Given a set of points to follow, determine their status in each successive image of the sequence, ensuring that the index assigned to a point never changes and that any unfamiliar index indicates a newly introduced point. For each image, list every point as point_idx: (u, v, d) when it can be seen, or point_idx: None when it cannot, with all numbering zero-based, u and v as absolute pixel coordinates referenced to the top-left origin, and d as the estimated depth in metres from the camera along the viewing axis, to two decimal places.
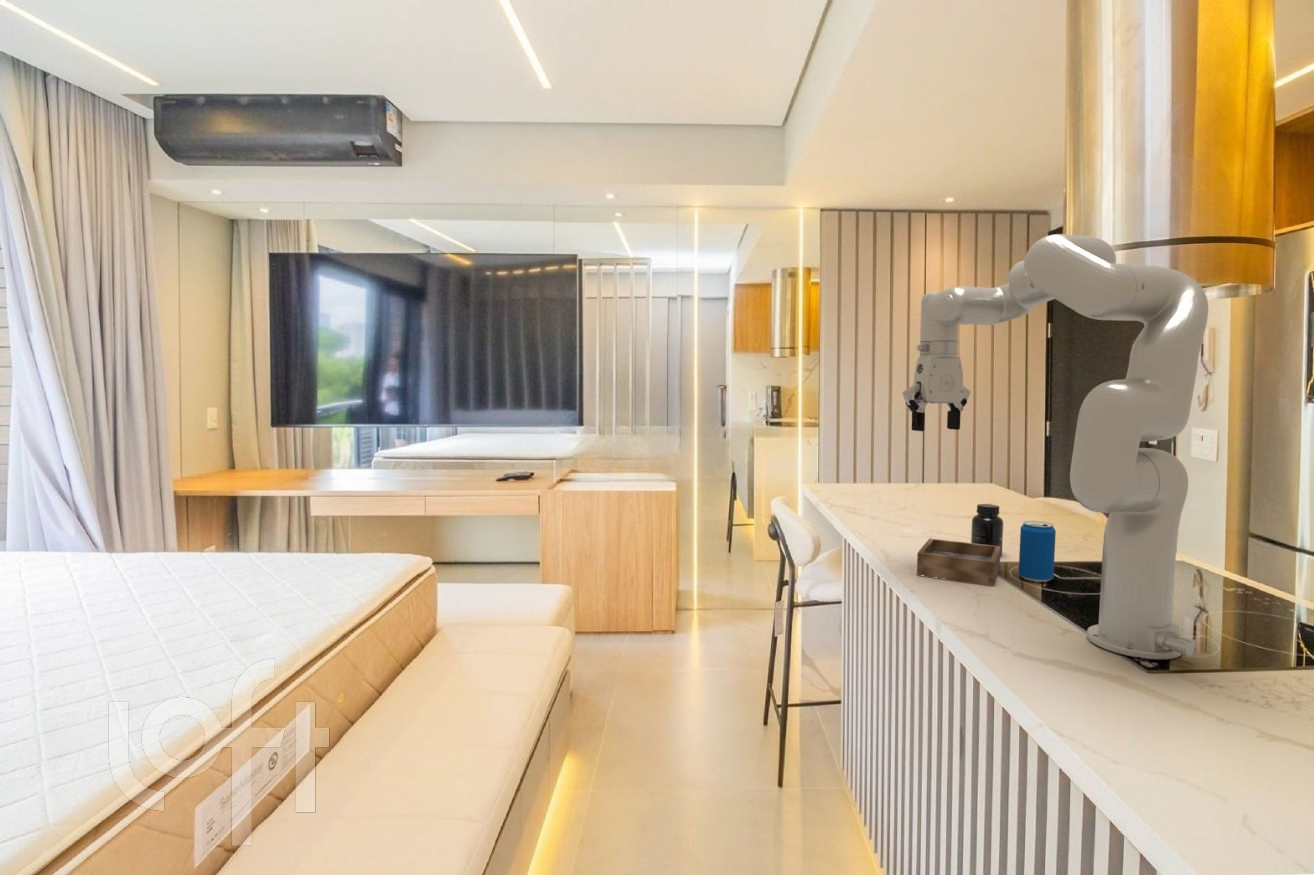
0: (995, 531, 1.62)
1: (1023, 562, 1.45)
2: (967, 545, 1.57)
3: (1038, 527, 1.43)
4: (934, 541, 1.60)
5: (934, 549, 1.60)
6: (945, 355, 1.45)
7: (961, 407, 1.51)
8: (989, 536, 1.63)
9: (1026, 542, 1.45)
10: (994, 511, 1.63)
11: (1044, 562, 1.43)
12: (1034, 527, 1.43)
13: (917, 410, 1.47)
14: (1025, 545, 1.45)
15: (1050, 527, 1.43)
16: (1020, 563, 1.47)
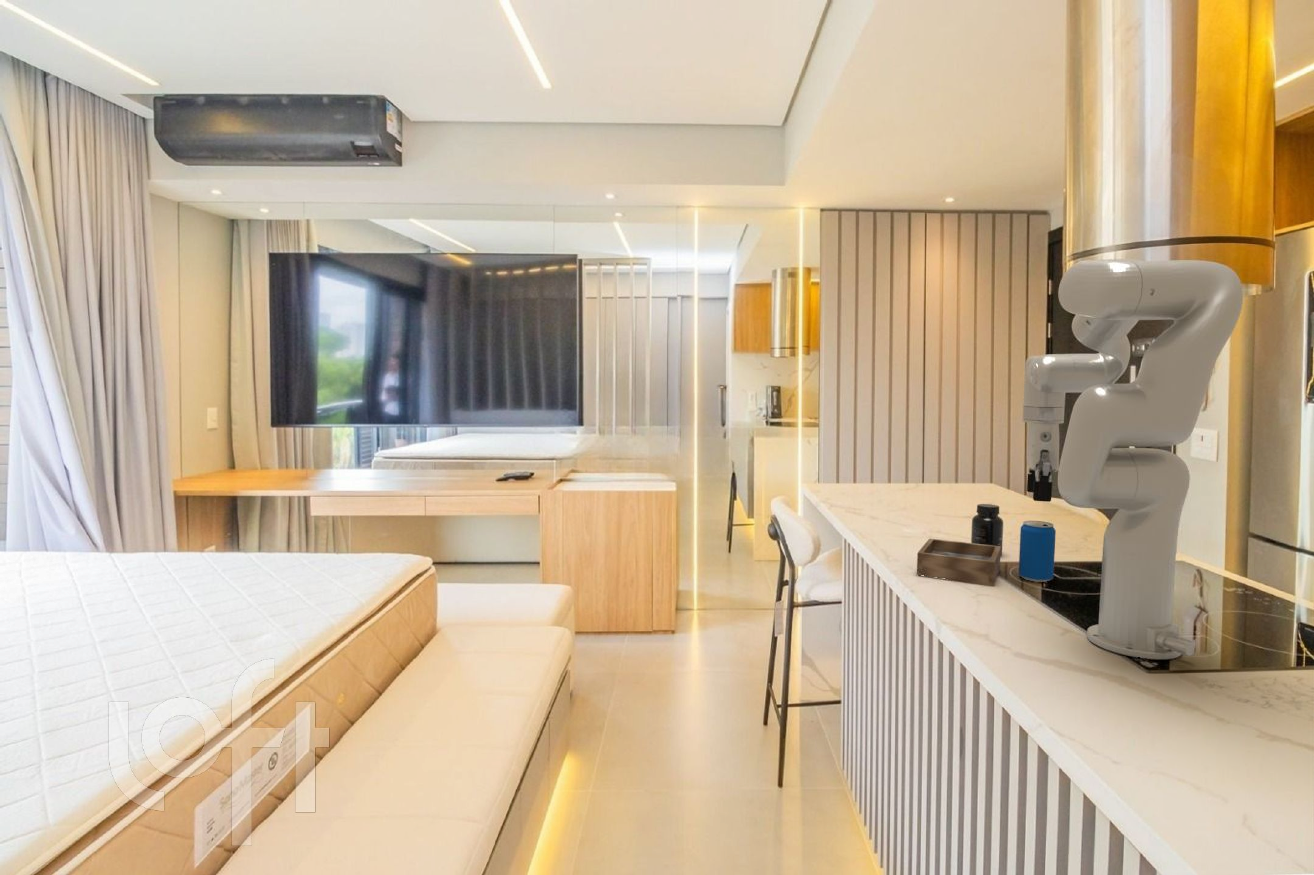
0: (995, 531, 1.62)
1: (1023, 562, 1.45)
2: (967, 545, 1.57)
3: (1038, 527, 1.43)
4: (934, 541, 1.60)
5: (934, 549, 1.60)
6: (1063, 421, 1.41)
7: None
8: (989, 536, 1.63)
9: (1026, 542, 1.45)
10: (994, 511, 1.63)
11: (1044, 562, 1.43)
12: (1034, 527, 1.43)
13: (1050, 480, 1.39)
14: (1025, 545, 1.45)
15: (1050, 527, 1.43)
16: (1020, 563, 1.47)
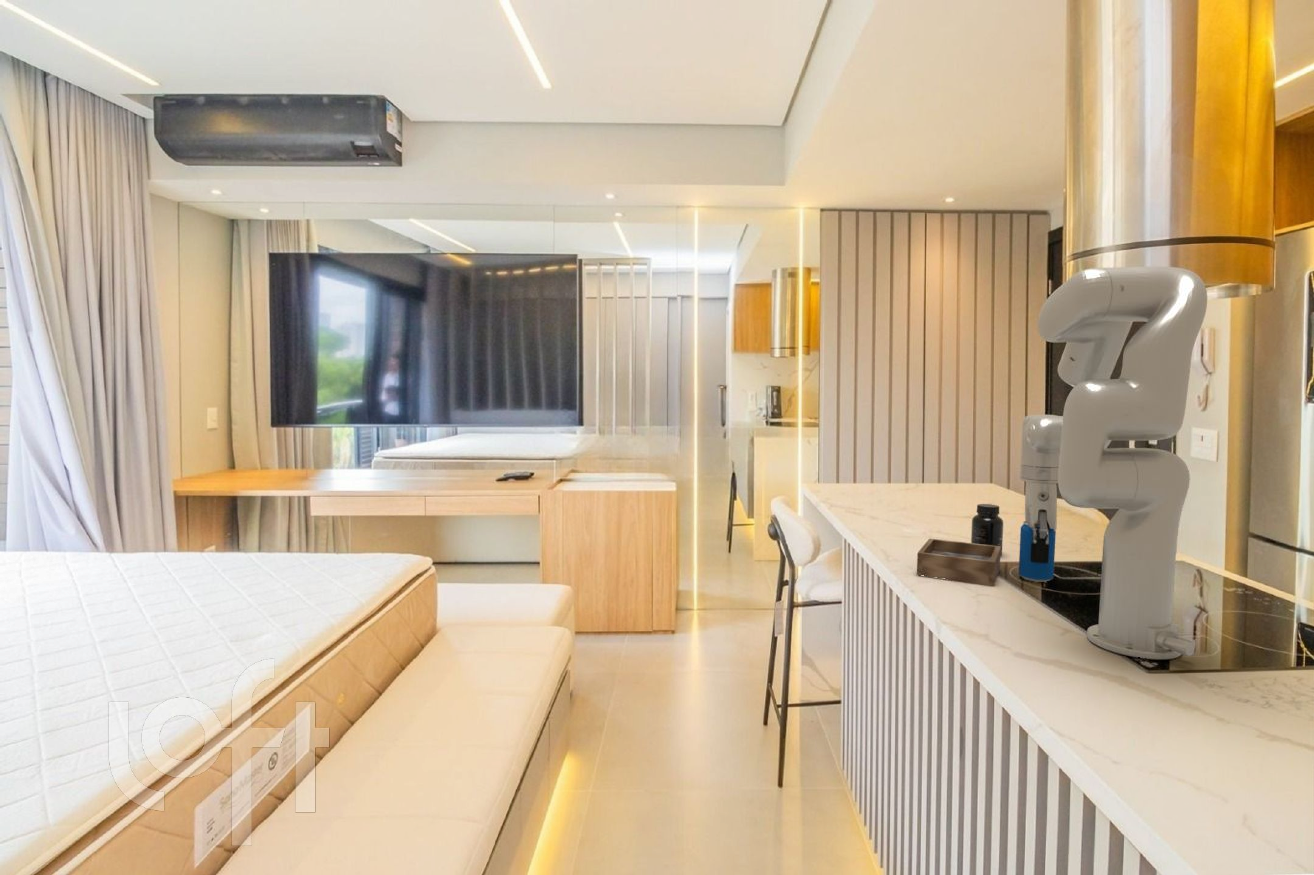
0: (995, 531, 1.62)
1: (1023, 562, 1.45)
2: (967, 545, 1.57)
3: (1038, 527, 1.43)
4: (934, 541, 1.60)
5: (934, 549, 1.60)
6: None
7: None
8: (988, 536, 1.63)
9: (1026, 542, 1.45)
10: (994, 511, 1.63)
11: None
12: None
13: (1047, 543, 1.41)
14: (1025, 545, 1.45)
15: None
16: (1020, 563, 1.47)
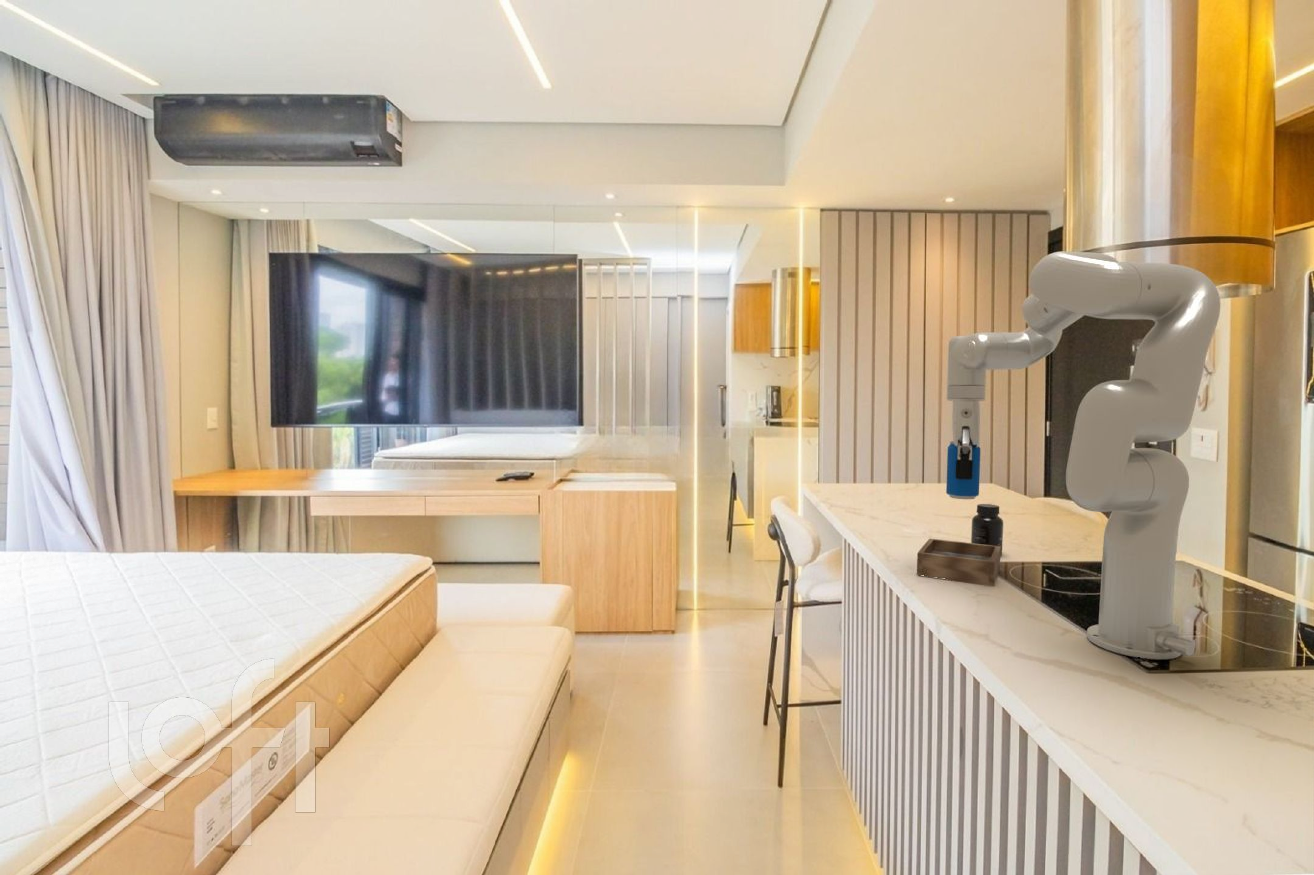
0: (995, 531, 1.62)
1: (949, 480, 1.49)
2: (967, 545, 1.57)
3: None
4: (934, 541, 1.60)
5: (934, 549, 1.60)
6: (984, 399, 1.46)
7: None
8: (989, 536, 1.63)
9: (952, 460, 1.48)
10: (994, 511, 1.63)
11: (968, 479, 1.47)
12: None
13: (970, 459, 1.45)
14: (951, 463, 1.49)
15: (974, 445, 1.47)
16: (947, 482, 1.50)
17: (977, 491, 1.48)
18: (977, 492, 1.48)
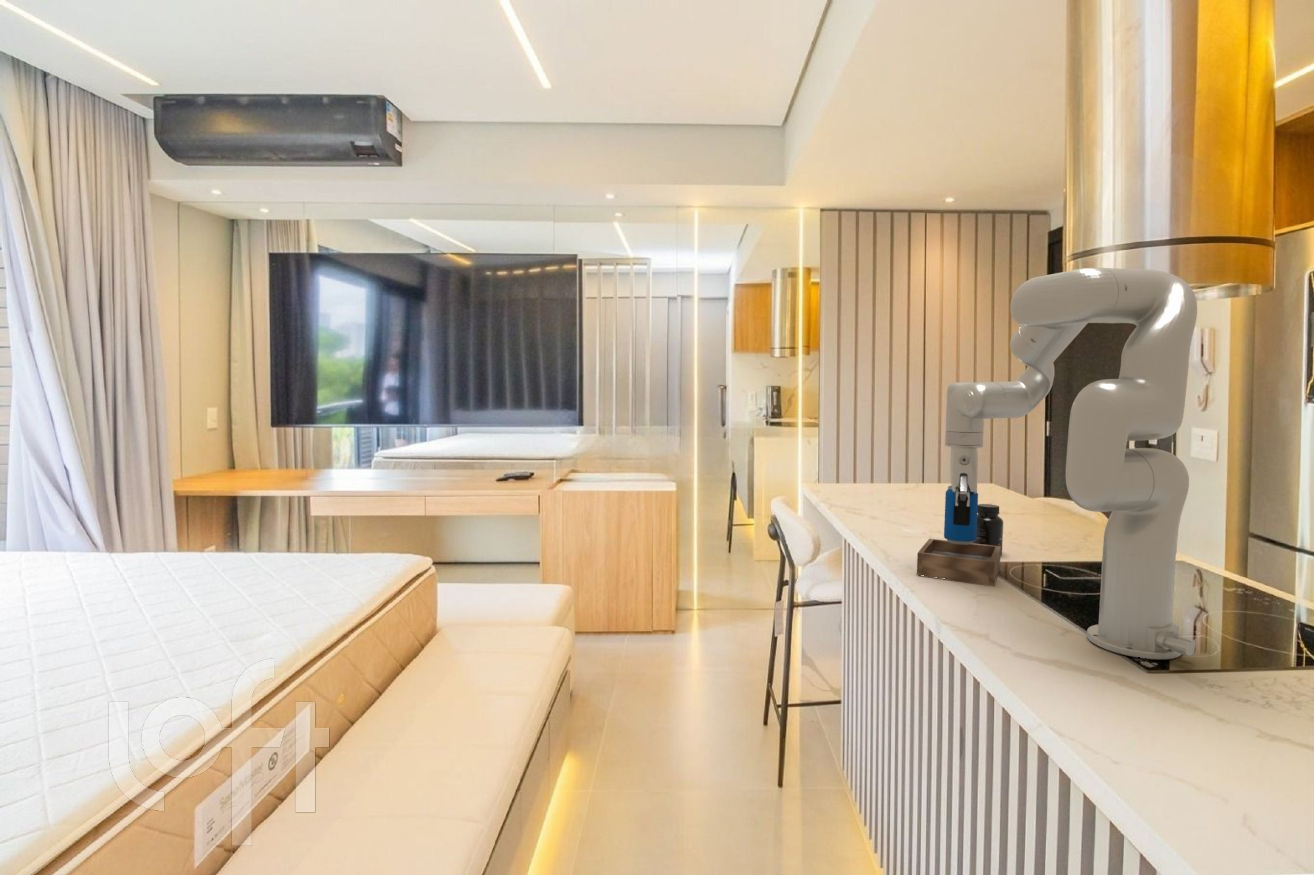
0: (995, 531, 1.62)
1: (947, 525, 1.50)
2: (967, 545, 1.57)
3: None
4: (934, 541, 1.60)
5: (934, 549, 1.60)
6: (982, 446, 1.47)
7: None
8: (989, 536, 1.63)
9: (950, 506, 1.49)
10: (994, 511, 1.63)
11: None
12: None
13: (968, 506, 1.46)
14: (949, 508, 1.50)
15: None
16: (945, 526, 1.51)
17: (974, 536, 1.49)
18: (974, 537, 1.49)
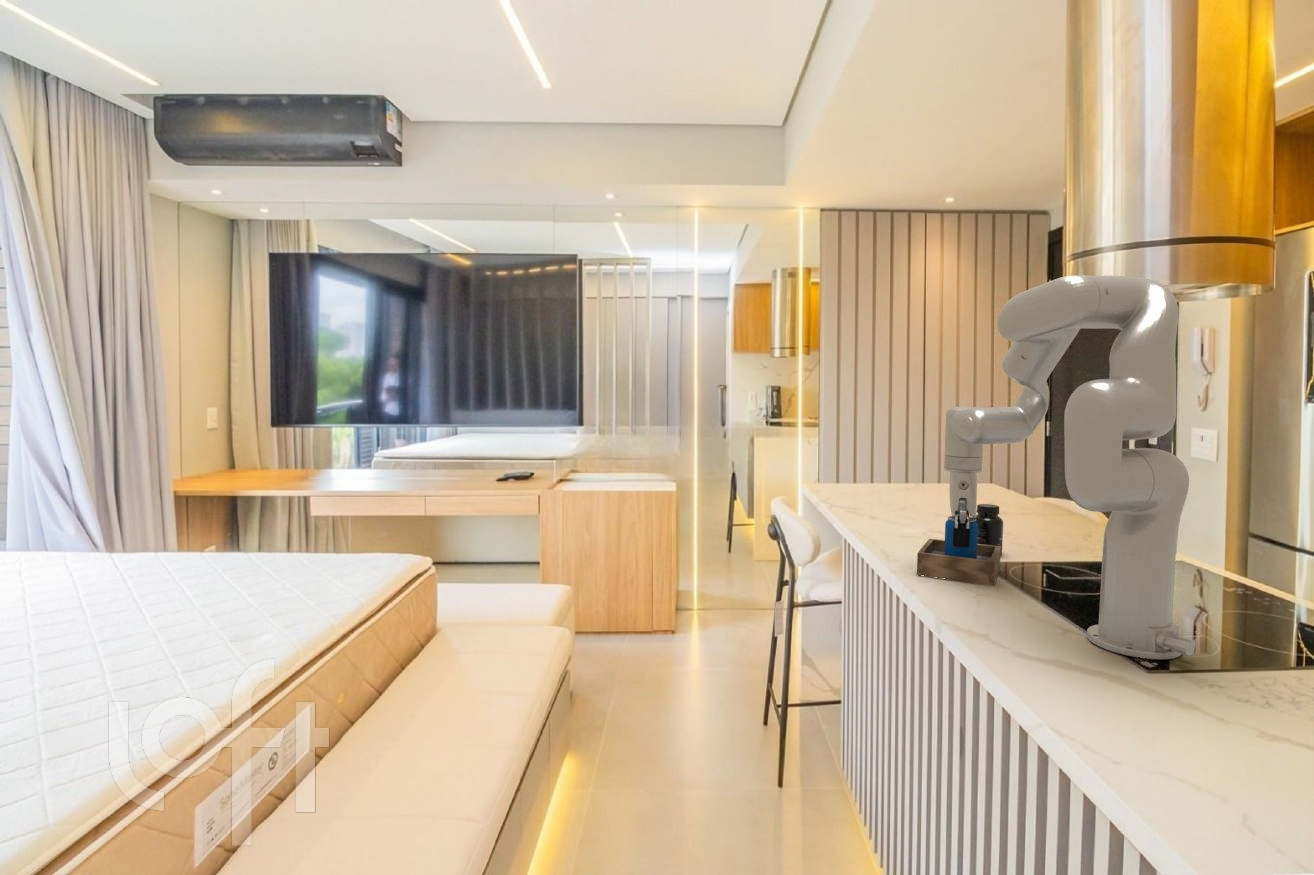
0: (995, 531, 1.62)
1: None
2: None
3: None
4: (934, 541, 1.60)
5: (934, 549, 1.60)
6: (981, 470, 1.47)
7: None
8: (989, 536, 1.63)
9: (949, 536, 1.50)
10: (994, 511, 1.63)
11: (966, 555, 1.48)
12: None
13: (967, 527, 1.45)
14: (949, 539, 1.50)
15: (972, 522, 1.48)
16: None
17: None
18: None
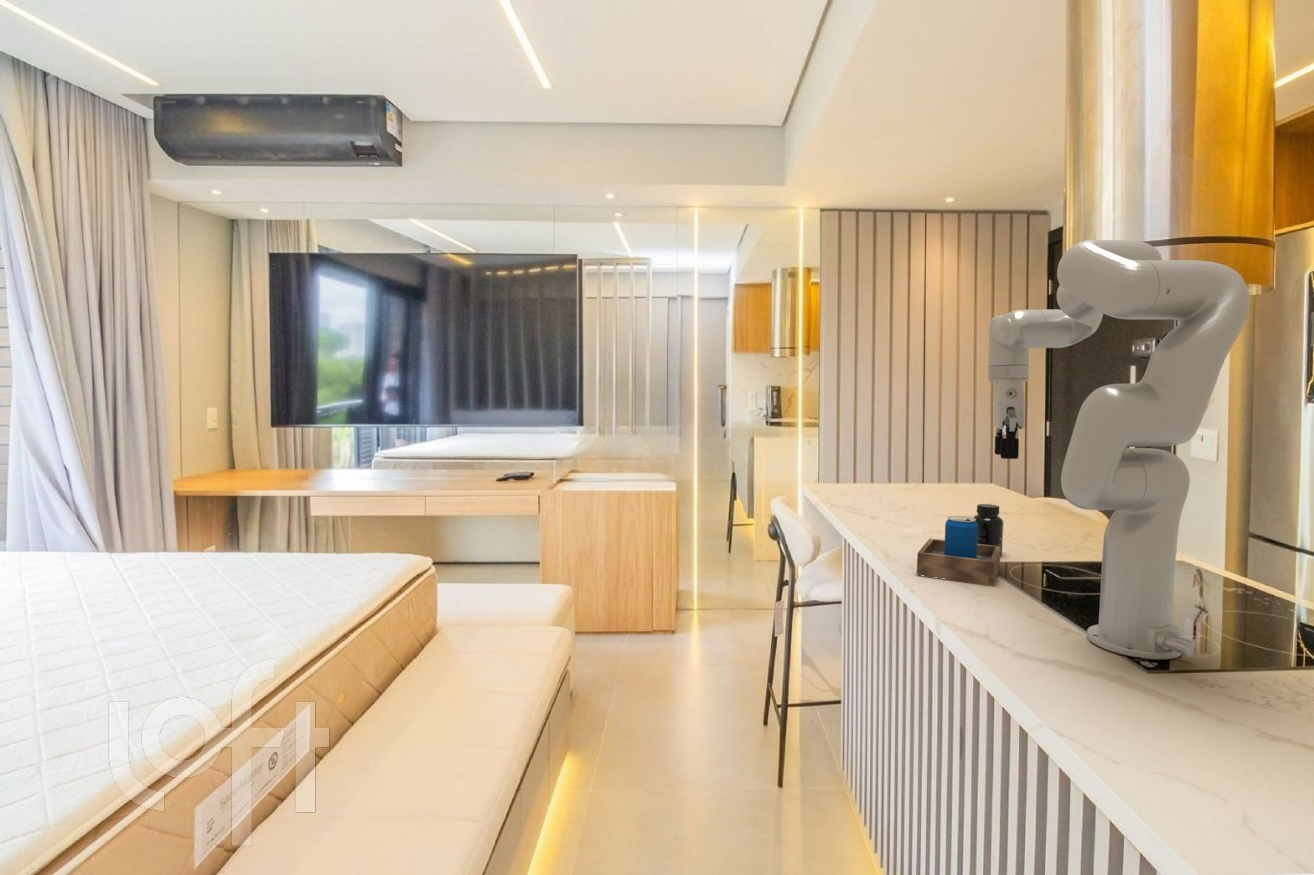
0: (995, 531, 1.62)
1: None
2: None
3: (960, 522, 1.48)
4: (934, 541, 1.60)
5: (934, 549, 1.60)
6: (1027, 380, 1.42)
7: None
8: (989, 536, 1.63)
9: (949, 536, 1.50)
10: (994, 511, 1.63)
11: (966, 556, 1.48)
12: (957, 522, 1.49)
13: (1016, 437, 1.39)
14: (949, 539, 1.50)
15: (972, 522, 1.48)
16: None
17: None
18: None
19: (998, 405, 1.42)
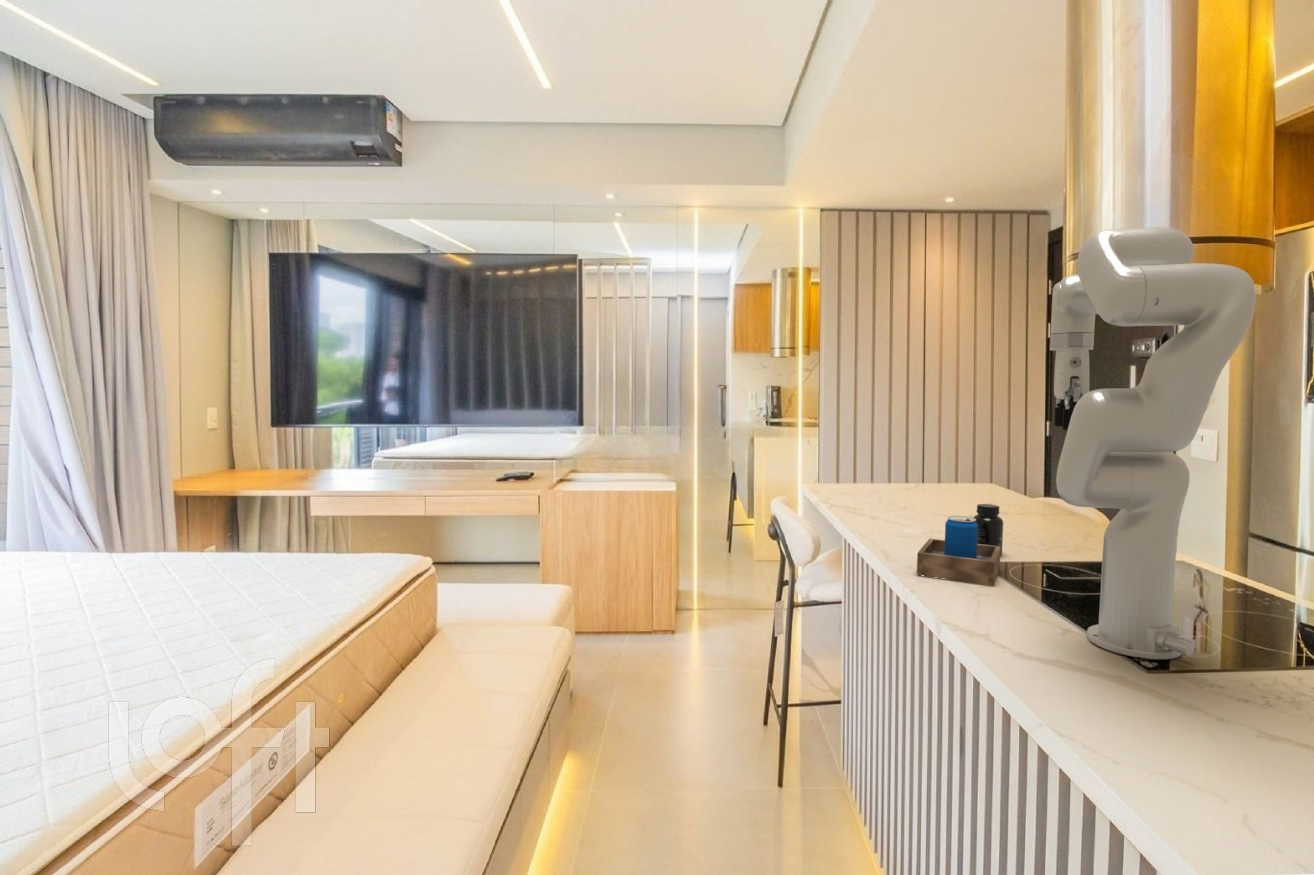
0: (995, 531, 1.62)
1: None
2: None
3: (960, 522, 1.48)
4: (934, 541, 1.60)
5: (934, 549, 1.60)
6: (1092, 348, 1.37)
7: None
8: (989, 536, 1.63)
9: (950, 536, 1.50)
10: (994, 511, 1.63)
11: (966, 556, 1.48)
12: (957, 522, 1.49)
13: None
14: (949, 539, 1.50)
15: (972, 522, 1.48)
16: None
17: None
18: None
19: (1061, 374, 1.37)
